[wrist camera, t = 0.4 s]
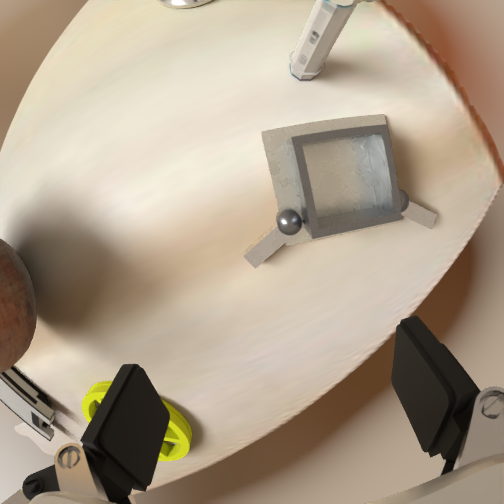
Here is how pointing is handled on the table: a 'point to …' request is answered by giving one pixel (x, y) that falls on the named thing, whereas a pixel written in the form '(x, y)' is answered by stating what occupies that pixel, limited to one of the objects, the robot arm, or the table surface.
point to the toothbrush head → (320, 36)
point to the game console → (27, 402)
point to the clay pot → (15, 307)
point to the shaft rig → (332, 182)
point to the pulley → (175, 431)
